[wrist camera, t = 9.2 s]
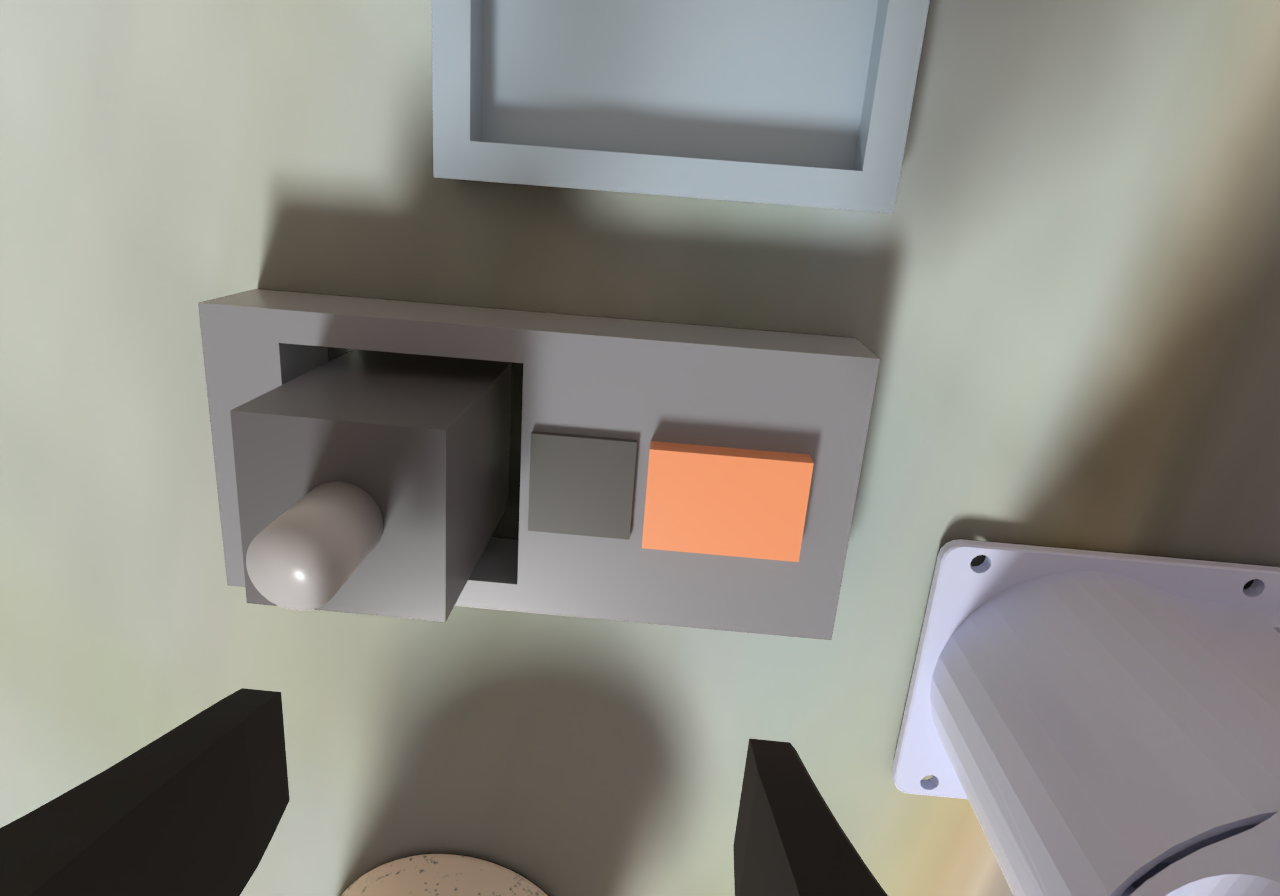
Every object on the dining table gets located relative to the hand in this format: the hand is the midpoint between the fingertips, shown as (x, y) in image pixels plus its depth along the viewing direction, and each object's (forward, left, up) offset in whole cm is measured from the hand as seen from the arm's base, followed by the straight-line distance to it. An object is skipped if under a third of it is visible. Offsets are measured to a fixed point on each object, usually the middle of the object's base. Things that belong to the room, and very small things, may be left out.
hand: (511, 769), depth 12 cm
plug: (+4, -2, -10) cm, 11 cm away
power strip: (+1, -2, -10) cm, 10 cm away
